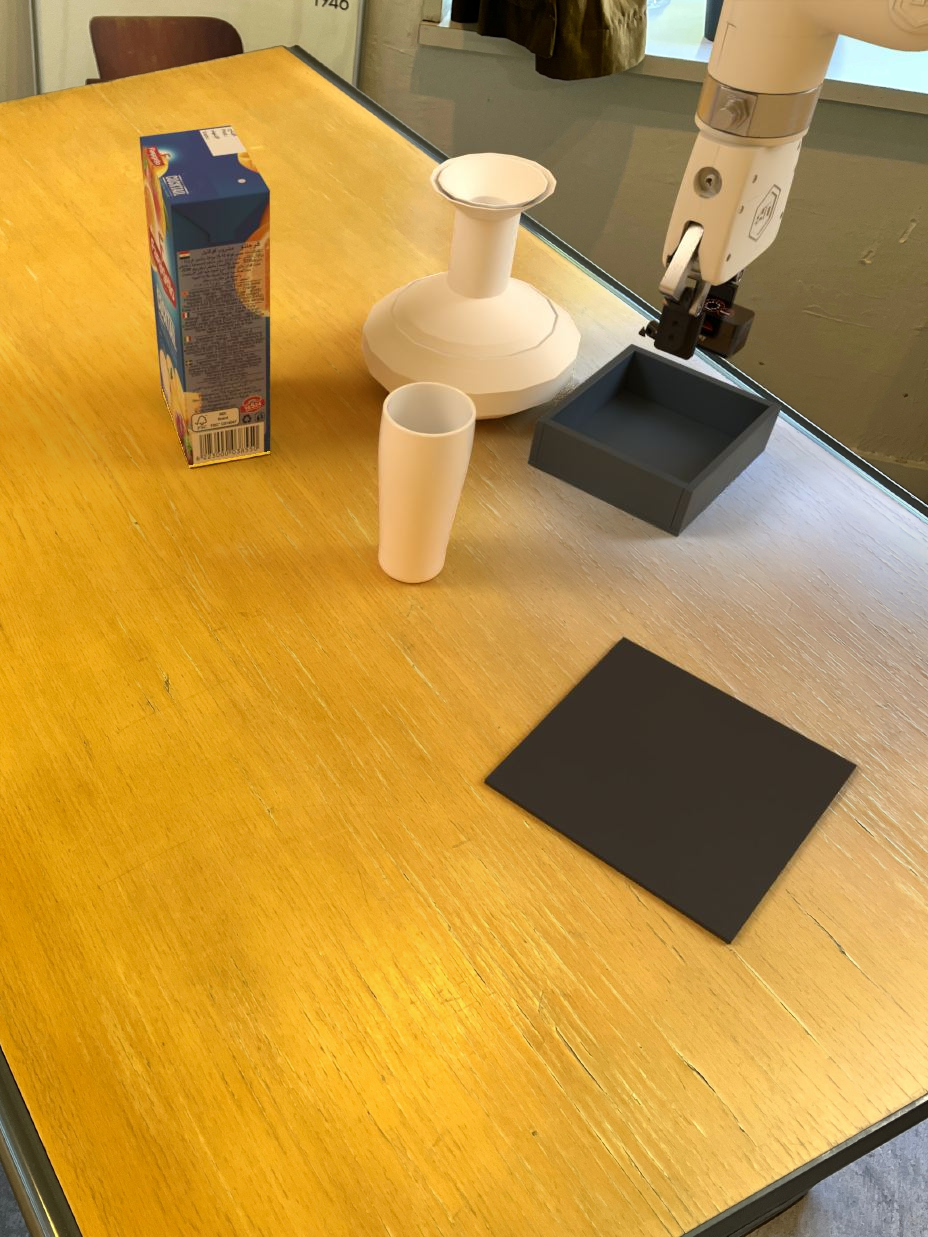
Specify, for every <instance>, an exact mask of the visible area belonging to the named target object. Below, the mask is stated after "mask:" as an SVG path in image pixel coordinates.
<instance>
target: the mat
mask: <svg viewBox="0 0 928 1237" xmlns="http://www.w3.org/2000/svg"><path fill="white" fill-rule="evenodd" d="M857 766H858V765H857V764H856V763H854V762H852V761H850V759H849V760H848V759H847V758H845V757H843V756H842V755H840V754H838V753H836V752H834V751H833V750H831V749H829V748H827V747H825V746H823V745H821V744H820V743H817V742H816V741H814V740H812V739H810V738H809V737H807V736H805V735H804V734H802V733H799V732H798V731H796V730H794V729H792V728H790V727H789V726H787V725H785V724H784V723H782V722H780V721H778V720H776V719H774V718H772V717H771V716H768V715H767V714H766V713H764V712H761V711H759V710H758V709H756V708H755V707H753V706H751V705H748V704H747V703H745V702H743V701H741V700H739V699H738V698H736V697H734V696H732V695H731V694H729V693H727V692H725V691H723V690H722V689H719V688H718V687H716V686H714V685H712V684H711V683H709V682H707V681H705V680H703V679H702V678H699V677H698V676H696V675H694V674H692V673H690V672H689V671H687V670H685V669H683V668H682V667H680V666H678V665H676V664H674V663H672V661H671V662H670V661H669V660H667V659H665V658H664V657H661V656H660V655H658V654H656V653H654V652H653V651H651V650H649V649H647V648H645V647H643V646H641V645H640V644H638V643H637V642H634V641H633V640H631V639H629V638H627V637H626V636H623V637H621V638H620V639H619V641H617V642H616V644H615V645H614V646H612V647H611V649H610V650H609V651H608V652H607V653H606V654H605V655H604V656H603V657H602V658H601V659H600V660H599V661H598V662H597V663H596V664H595V665H594V666H593V667H592V668H591V669H590V670H589V671H588V672H587V674H585V675H584V677H583V678H581V680H579V682H578V683H576V685H575V686H573V688H572V689H571V690H570V691H569V692H568V693H567V694H566V695H564V697H563V698H562V699H561V700H560V701H559V703H558V704H556V706H554V708H552V710H550V711H549V712H548V714H547V715H546V716H545V717H544V718H542V720H541V721H540V722H539V723H538V724H537V725H536V726H535V727H534V728H533V729H532V730H531V731H530V732H529V733H528V734H527V735H526V736H525V737H524V738H523V739H522V741H521V742H520V743H518V744H517V746H516V747H514V749H513V750H512V751H510V753H509V754H508V755H507V756H506V757H504V759H503V760H502V761H501V762H500V763H499V764H498V765H497V766H496V767H495V768H494V769H493V770H492V772H490V774H488V775H487V777H486V778H484V781H483V783H484V784H485V785H486V786H488V787H489V788H490V789H492V790H494V791H495V792H497V793H498V794H500V795H501V796H503V797H504V798H506V799H508V800H509V801H511V802H512V803H514V804H515V805H517V806H518V807H519V808H521V809H523V810H524V811H526V812H527V813H529V814H530V815H532V816H533V817H535V818H537V819H538V820H539V821H540V822H543V823H544V824H546V825H547V826H549V827H550V828H551V829H552V830H554V831H556V832H558V833H559V834H560V835H561V836H564V837H565V838H567V839H568V840H570V841H571V842H573V843H574V844H576V845H577V846H579V847H580V848H582V849H583V850H585V851H586V852H588V853H589V854H590V855H592V856H594V857H595V858H597V859H599V860H601V862H603V863H605V864H606V865H608V866H609V867H611V868H612V869H613V870H614V871H617V872H618V873H620V874H621V875H622V876H624V877H626V878H627V879H629V880H630V881H632V882H633V883H635V884H636V885H638V886H640V887H641V888H643V889H644V890H645V891H647V892H648V893H650V894H651V895H653V896H655V897H656V898H658V899H659V900H661V901H662V902H664V903H665V904H667V905H668V906H669V907H671V908H673V909H674V910H676V911H677V912H678V913H680V914H682V915H683V916H685V917H686V918H688V919H689V920H691V921H692V922H694V923H696V924H697V925H698V926H700V927H702V928H703V929H705V930H706V931H707V932H709V933H711V934H712V935H714V936H715V937H717V938H718V939H720V940H721V941H723V942H724V943H726V944H727V945H731V944H732V942H733V941H734V940H735V938H736V937H737V935H738V934H739V933H740V931H741V930H742V928H743V926H744V925H745V924H746V923H747V921H748V920H749V918H750V917H751V915H752V914H753V913H754V911H755V910H756V908H757V907H759V906H758V905H759V904H760V903H761V902H762V900H763V899H764V897H765V896H766V894H767V893H768V892H769V890H770V888H771V887H772V886H773V885H774V883H775V882H776V880H777V879H778V878H779V877H780V875H781V874H782V872H783V871H784V869H785V868H786V866H787V865H788V864H789V863H790V862H791V859H792V858H793V856H794V855H795V854H796V852H797V851H798V850H799V848H800V847H801V845H802V844H803V842H804V841H806V838H807V837H808V836H809V834H810V833H811V831H812V830H813V828H814V827H815V826H816V824H817V823H818V821H819V820H820V819H821V818H822V816H823V815H824V814H825V812H826V810H827V809H828V808H829V806H830V805H831V803H832V802H833V801H834V799H835V797H836V796H837V795H838V793H839V792H841V789H842V788H843V786H844V785H845V784H846V782H847V781H848V779H849V778H850V777H851V775H852V774H853V772H854V771H855V770H856V768H857Z"/></svg>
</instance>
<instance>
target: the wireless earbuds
mask: <svg viewBox="0 0 928 1237" xmlns="http://www.w3.org/2000/svg"><path fill="white" fill-rule="evenodd" d="M687 287H688V288H691V289H692V290H693V292H694V295H695V293H696V291H697V289H696V288H695V287H693V286H690V285H687ZM701 311H702V312H705V313H706V314H705V318H704V321H703V325H702V328H701V331H700V335H699V338H698V342H697V345H696V349H697V348H698V349H700V350H702V351H704V352H707V353H710V354H711V355H715V356H717V357H719V358H721V359H725V360H727V359H730V358H733V357H734V356H735V355H736V354H737V353H739V352H740V351H742V350H743V349H744V347H745V346H746V343H747V341H748V338H749V334H750V331H751V328H752V325H753V323H754V319H755V315H756V312H755V311H753V310H752V309H749V308H747V307H744V306H742V305H739V304H736V303H732V302H729V301H727V300H724V299H721V298H719V297H716V296H714V295H711V294H709V293H708V295H707V297H706V300H705V303H704V305H703V308H702V310H701ZM658 325H659V321H656V320H655V319H652V320H650V321H649V322H648V323H647V324H646V326H642V327H641V328H640V330H639V331H638V336H640V337H643V338H646V337H648V338H650V339H651V340H653V341H654V340H655V337H656V333H657V329H658Z"/></svg>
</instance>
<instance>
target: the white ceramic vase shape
mask: <svg viewBox="0 0 928 1237" xmlns="http://www.w3.org/2000/svg"><path fill="white" fill-rule="evenodd" d="M429 181H430V183H431V185H432V187H433V189H434V191H435V192H437V193H438V194H439V196H441V197H442V198H444V199H445V200H446V201H447V202H448V203H450V204H451V205H452V206H453V207H454V208H455V214H454V221H453V229H452V231H453V232H452V237H451V245H450V253H449V262H448V270H446V271H443V272H442V271H441V272H438V273H434V274H430V275H427V276H424V277H420V278H417V279H413V280H412V281H410V282H408V283H406V284H404V285H401V286H399V287H397V288H395V289H393V290H392V291H390V292H389V293H388V294H387V295H385V296H384V297H382V298H381V299H380V300H379V301H377V302H376V303H374V305H372V307H371V309H370V311H369V313H368V316H367V317H366V319H365V322H364V324H363V326H362V334H361V353H362V356H363V358H364V361H365V365H366V367H367V371H368V373H369V374H370V375H371V376H372V377H373V378H374V379H375V380H376V381H377V382H378V383H379V384H380V385H381V386H382V387H383V389H385V390H386V391H388V393H389V394H390V393H391V392H392V391H394V390H395V389H397V388H399V387H401V386H404V385H407V384H411V383H418V382H434V383H441V384H445V385H449V386H452V387H454V388H457V389H459V390H460V391H462V392H464V393H465V394H466V395H467V396H469V397H470V399H471V400H472V401H473V403H474V405H475V407H476V421H478V420H479V421H480V420H490V419H499V418H504V417H506V416H509V415H514V414H517V413H519V412H522V411H525V410H528V409H531V408H534V407H538V406H541V405H542V404H546V403H548V402H551V401H552V400H553V399H555V397H557V395H559V393H560V392H561V391H562V390H563V389H564V388H565V387H566V386H567V385H569V383H570V382H571V381H572V377H573V372H574V369H575V365H576V360H577V356H578V352H579V348H580V342H581V339H582V335H581V333H580V331H579V329H578V327H577V326H576V323H575V322H574V321H573V319H572V317H571V315H570V313H569V312H567V311H566V310H565V309H564V308H562V307H561V306H560V305H558V304H557V303H556V302H554V301H553V300H552V299H550V297H548V296H546V295H545V294H544V293H543V292H541V291H540V290H539V289H537V288H536V287H534V286H533V285H532V284H530V283H528V282H525V281H523V280H520V279H519V278H515V277H512V276H511V275H512V268H513V262H514V257H515V252H516V251H515V250H516V245H517V238H518V232H519V225H520V221H521V214H522V213H523V212H525V211H527V210H529V209H531V208H532V207H535V206H536V205H538V204H540V203H542V202H543V201H544V200H546V199H547V198H548V197H549V196H551V195H552V194H554V192H555V188H556V185H557V180H556V178H555V177H554V175H553V174H552V172H551V171H550V170H549V169H548V168H546V167H544V166H543V165H541V164H539V163H538V162H536V161H535V160H531V159H528V158H524V157H521V156H517V155H515V154H513V155H512V154H505V153H496V152H483V153H482V152H481V153H469V154H465V155H461V156H457V157H453V158H448V159H446V160H445V161H444V162H443V161H442V163H440V164H439V165H437V166H436V167H435V168H433V171H432V173H431V175H430V177H429Z"/></svg>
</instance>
